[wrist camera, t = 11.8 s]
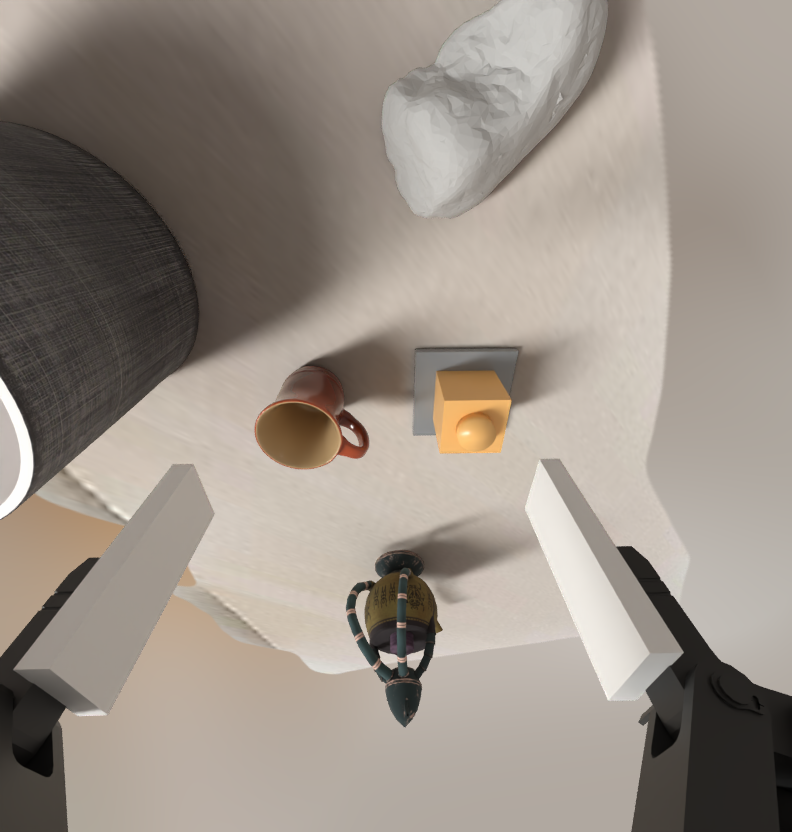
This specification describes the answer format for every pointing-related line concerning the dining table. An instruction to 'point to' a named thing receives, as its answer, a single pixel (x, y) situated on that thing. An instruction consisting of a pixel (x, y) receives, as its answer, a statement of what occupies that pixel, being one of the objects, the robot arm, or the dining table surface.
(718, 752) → the robot arm
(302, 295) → the dining table surface
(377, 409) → the dining table surface
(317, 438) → the mug
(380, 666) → the teapot
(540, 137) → the decorative stone
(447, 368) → the plate
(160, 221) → the planter
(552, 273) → the dining table surface
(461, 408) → the orange cube with dome
